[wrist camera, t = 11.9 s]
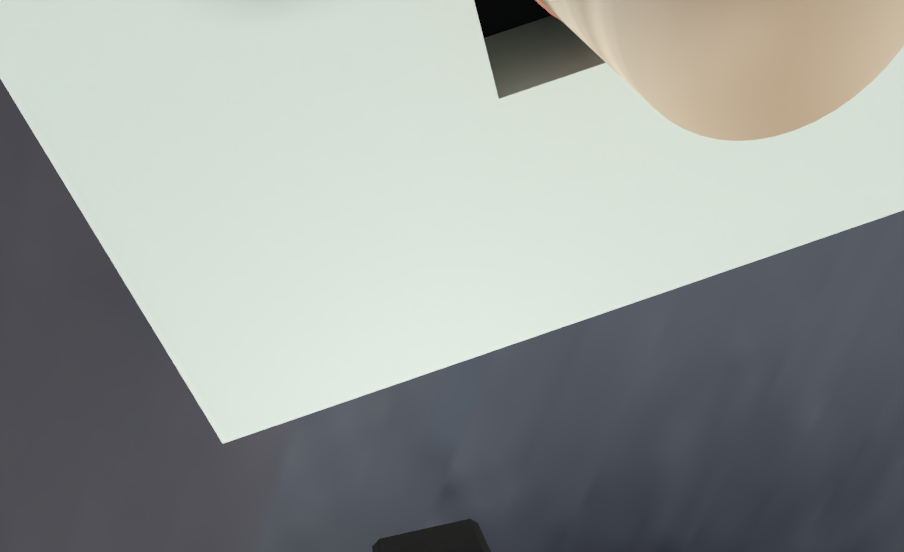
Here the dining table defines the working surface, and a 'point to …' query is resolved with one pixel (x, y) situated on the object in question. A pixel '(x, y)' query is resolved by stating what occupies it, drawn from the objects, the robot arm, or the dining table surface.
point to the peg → (740, 56)
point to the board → (399, 183)
